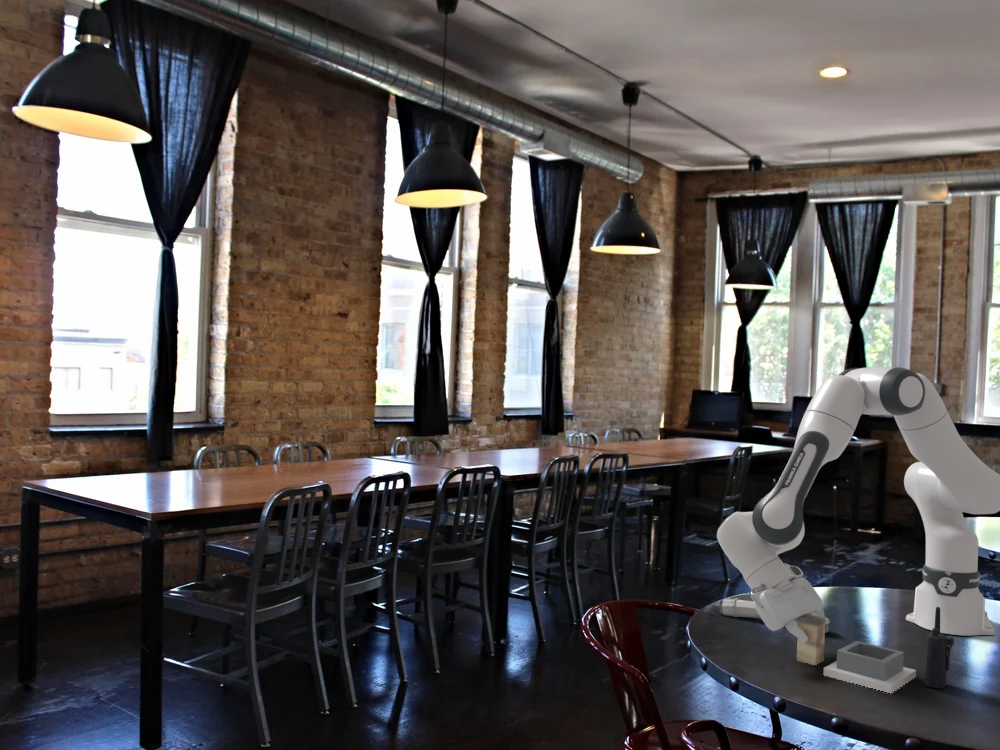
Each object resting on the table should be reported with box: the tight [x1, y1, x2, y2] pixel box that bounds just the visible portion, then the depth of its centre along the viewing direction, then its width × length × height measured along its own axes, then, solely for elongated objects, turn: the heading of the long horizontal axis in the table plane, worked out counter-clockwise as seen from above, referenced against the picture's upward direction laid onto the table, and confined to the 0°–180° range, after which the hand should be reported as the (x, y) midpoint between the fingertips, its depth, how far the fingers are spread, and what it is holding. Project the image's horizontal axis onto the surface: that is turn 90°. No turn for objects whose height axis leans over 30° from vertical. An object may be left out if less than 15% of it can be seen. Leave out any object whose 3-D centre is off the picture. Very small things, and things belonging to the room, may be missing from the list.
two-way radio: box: [925, 607, 955, 690], centre depth 170 cm, size 6×4×15 cm
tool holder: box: [823, 640, 917, 695], centre depth 174 cm, size 13×13×5 cm
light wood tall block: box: [796, 614, 826, 666], centre depth 183 cm, size 4×4×9 cm
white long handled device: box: [719, 597, 830, 634], centre depth 209 cm, size 5×7×25 cm
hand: (814, 638), depth 182 cm, fingers open, 5 cm apart
